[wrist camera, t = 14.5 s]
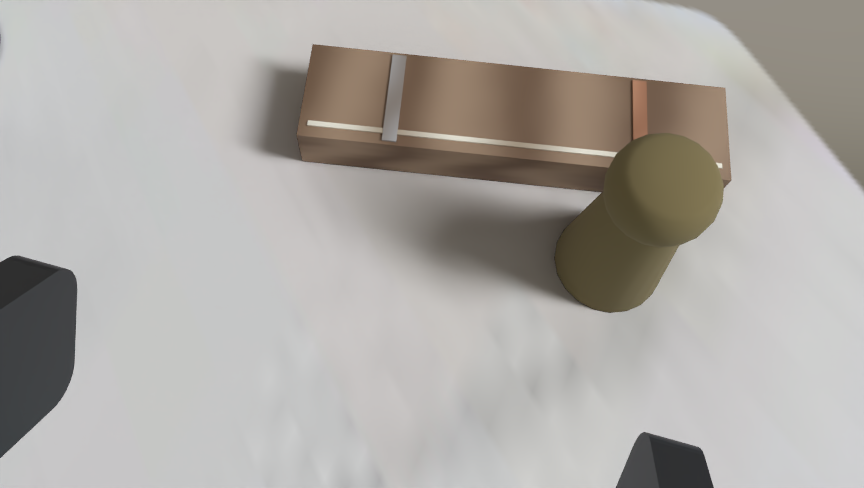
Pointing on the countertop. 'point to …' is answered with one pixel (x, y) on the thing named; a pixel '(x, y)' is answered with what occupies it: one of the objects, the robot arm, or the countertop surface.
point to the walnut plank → (493, 117)
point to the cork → (639, 221)
